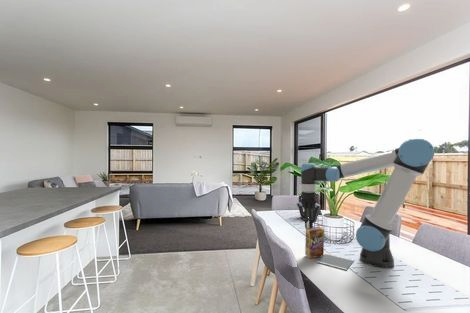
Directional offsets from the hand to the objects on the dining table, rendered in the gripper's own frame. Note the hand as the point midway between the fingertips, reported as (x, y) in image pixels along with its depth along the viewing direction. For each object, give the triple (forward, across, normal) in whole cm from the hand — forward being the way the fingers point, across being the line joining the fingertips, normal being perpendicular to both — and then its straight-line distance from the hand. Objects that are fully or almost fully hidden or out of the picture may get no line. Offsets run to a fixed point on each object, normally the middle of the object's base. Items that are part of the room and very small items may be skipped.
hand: (308, 234), depth 132 cm
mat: (+11, -14, 0) cm, 18 cm away
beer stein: (+11, +33, -85) cm, 92 cm away
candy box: (+11, -3, 0) cm, 11 cm away
